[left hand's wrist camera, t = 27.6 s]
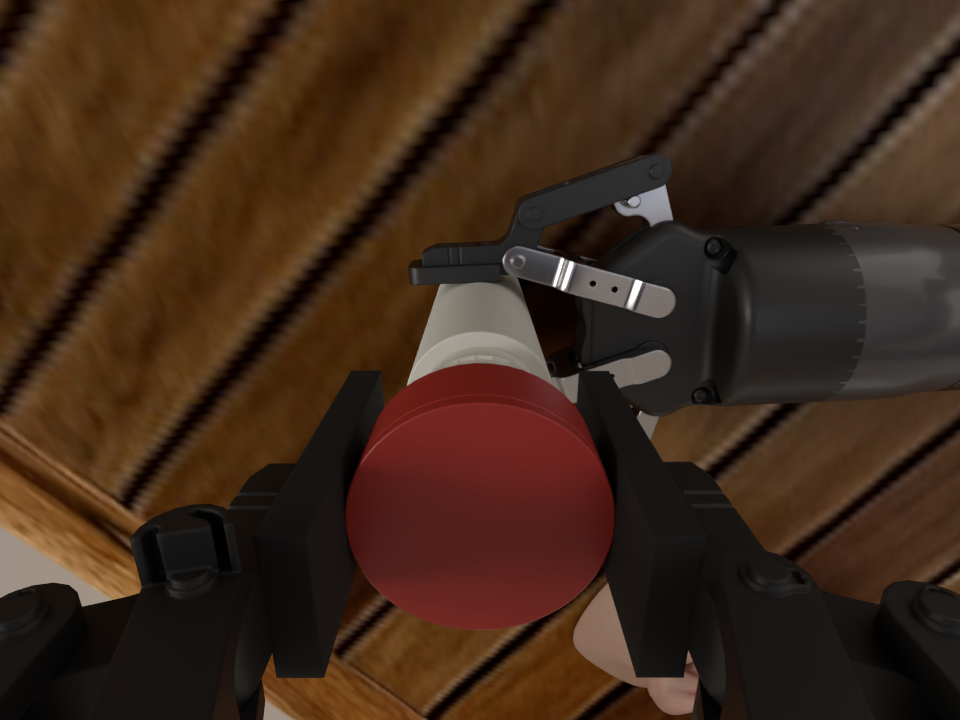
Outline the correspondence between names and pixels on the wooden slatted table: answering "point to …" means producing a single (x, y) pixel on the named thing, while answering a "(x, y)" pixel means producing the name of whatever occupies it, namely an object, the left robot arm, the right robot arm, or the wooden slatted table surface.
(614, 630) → the anatomical model
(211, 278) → the wooden slatted table surface
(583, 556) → the lid
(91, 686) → the left robot arm
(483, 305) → the white bottle
